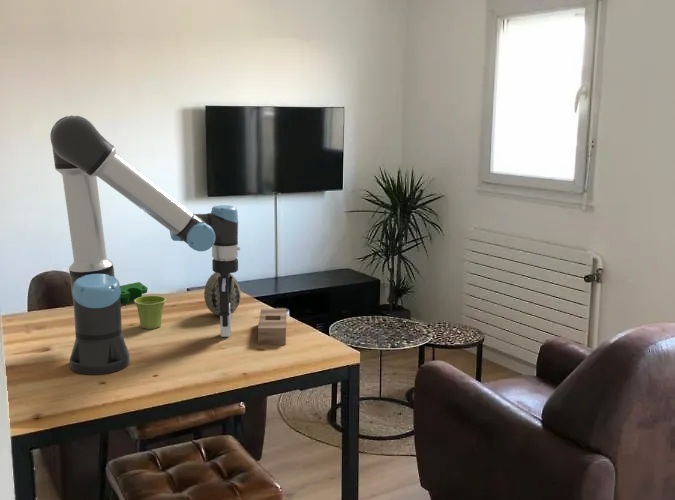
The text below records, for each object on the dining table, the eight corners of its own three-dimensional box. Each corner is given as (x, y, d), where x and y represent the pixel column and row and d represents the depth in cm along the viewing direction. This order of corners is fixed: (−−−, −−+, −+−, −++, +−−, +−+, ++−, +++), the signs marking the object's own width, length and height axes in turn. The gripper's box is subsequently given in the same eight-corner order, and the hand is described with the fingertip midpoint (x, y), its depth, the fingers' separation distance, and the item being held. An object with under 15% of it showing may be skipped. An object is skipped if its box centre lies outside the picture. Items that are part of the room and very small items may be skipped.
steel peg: (230, 337, 217) (229, 305, 215) (220, 337, 217) (219, 304, 215) (230, 333, 220) (230, 302, 218) (220, 333, 220) (220, 302, 218)
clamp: (123, 317, 249) (117, 297, 243) (113, 309, 252) (107, 290, 247) (152, 298, 256) (146, 279, 250) (142, 291, 259) (136, 272, 253)
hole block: (285, 344, 212) (285, 328, 211) (258, 344, 211) (258, 328, 210) (286, 323, 231) (286, 308, 230) (261, 323, 231) (261, 308, 230)
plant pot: (168, 329, 223) (167, 302, 221) (137, 332, 220) (136, 304, 218) (164, 320, 232) (163, 294, 230) (133, 323, 228) (132, 296, 226)
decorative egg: (230, 322, 231) (230, 276, 228) (198, 318, 235) (197, 273, 232) (246, 312, 242) (246, 268, 239) (214, 308, 246) (214, 265, 243)
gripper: (236, 264, 206) (236, 342, 211) (239, 252, 221) (240, 326, 226) (209, 263, 206) (210, 342, 210) (215, 252, 221) (216, 326, 226)
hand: (225, 334), depth 218 cm, fingers closed on steel peg, 2 cm apart
